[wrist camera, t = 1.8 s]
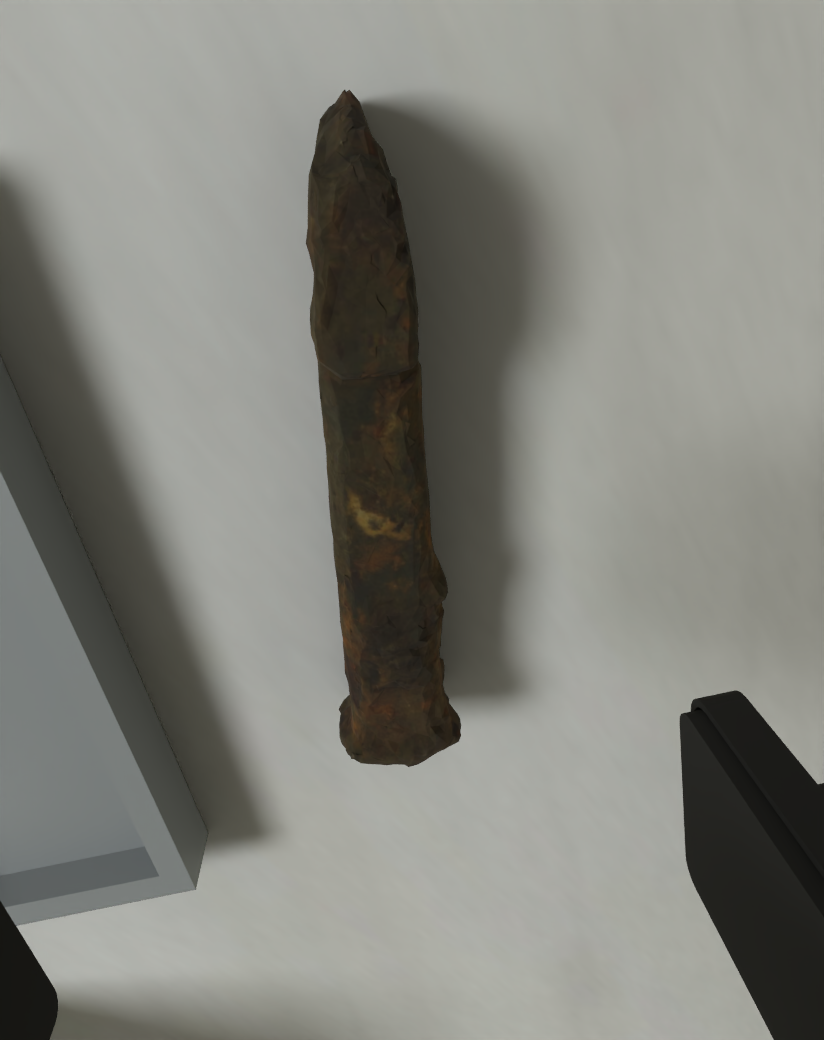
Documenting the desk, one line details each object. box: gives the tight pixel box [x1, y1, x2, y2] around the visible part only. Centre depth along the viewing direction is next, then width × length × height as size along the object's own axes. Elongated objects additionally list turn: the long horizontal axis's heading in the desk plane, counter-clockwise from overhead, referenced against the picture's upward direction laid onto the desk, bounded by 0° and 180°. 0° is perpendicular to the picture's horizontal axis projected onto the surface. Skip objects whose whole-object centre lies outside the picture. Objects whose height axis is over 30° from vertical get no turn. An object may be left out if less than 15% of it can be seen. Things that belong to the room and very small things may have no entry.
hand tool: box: [306, 90, 461, 767], centre depth 20 cm, size 19×4×5 cm, turn 1°
